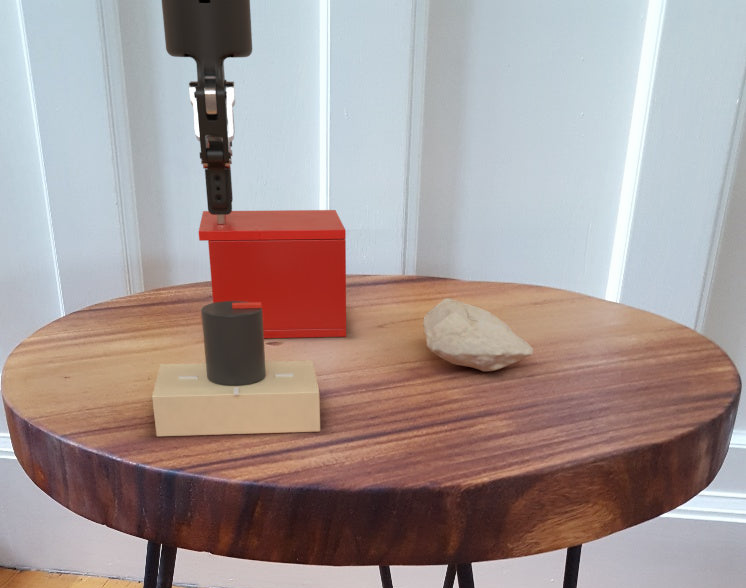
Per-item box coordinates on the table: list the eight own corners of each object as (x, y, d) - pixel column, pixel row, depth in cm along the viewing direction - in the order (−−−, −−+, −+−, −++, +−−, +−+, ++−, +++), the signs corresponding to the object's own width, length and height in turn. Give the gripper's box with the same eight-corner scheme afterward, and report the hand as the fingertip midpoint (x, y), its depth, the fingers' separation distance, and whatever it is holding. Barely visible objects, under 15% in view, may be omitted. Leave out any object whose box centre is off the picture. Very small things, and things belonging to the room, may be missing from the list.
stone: (433, 382, 81) (436, 321, 79) (409, 339, 92) (410, 285, 90) (539, 378, 82) (545, 318, 80) (502, 337, 93) (506, 283, 91)
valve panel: (156, 438, 70) (151, 395, 68) (164, 400, 77) (159, 360, 75) (320, 433, 71) (319, 390, 69) (313, 396, 78) (312, 357, 76)
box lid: (199, 240, 87) (193, 174, 84) (203, 219, 97) (198, 159, 94) (345, 239, 88) (345, 173, 85) (335, 218, 98) (334, 159, 95)
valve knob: (206, 386, 70) (199, 311, 67) (208, 368, 74) (201, 297, 71) (266, 384, 70) (262, 310, 68) (265, 367, 74) (261, 296, 71)
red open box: (216, 339, 92) (208, 241, 87) (218, 310, 101) (211, 220, 97) (346, 336, 93) (345, 239, 88) (336, 308, 103) (335, 219, 98)
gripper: (166, -7, 87) (184, 198, 96) (154, -13, 75) (176, 222, 85) (248, -6, 88) (259, 198, 97) (249, -12, 76) (261, 221, 85)
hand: (220, 208), depth 91 cm, fingers closed on box lid, 5 cm apart
